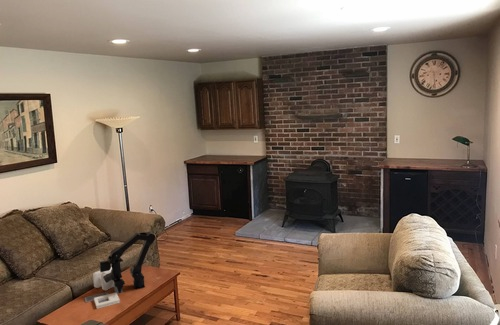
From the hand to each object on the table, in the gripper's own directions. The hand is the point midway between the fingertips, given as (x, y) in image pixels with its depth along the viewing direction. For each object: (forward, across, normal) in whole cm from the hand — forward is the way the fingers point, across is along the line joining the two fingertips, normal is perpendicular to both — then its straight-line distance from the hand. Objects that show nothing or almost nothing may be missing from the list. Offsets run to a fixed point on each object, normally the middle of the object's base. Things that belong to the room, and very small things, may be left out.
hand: (118, 290), depth 269 cm
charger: (+1, 0, 0) cm, 1 cm away
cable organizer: (+1, -13, -5) cm, 14 cm away
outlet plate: (+1, +10, -9) cm, 13 cm away
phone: (+2, 0, -14) cm, 14 cm away
